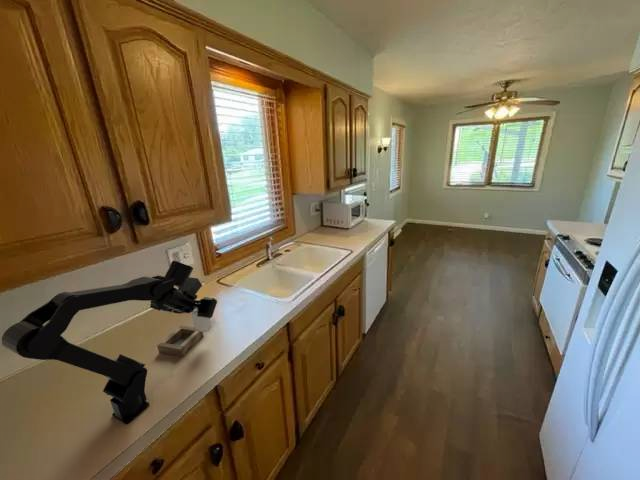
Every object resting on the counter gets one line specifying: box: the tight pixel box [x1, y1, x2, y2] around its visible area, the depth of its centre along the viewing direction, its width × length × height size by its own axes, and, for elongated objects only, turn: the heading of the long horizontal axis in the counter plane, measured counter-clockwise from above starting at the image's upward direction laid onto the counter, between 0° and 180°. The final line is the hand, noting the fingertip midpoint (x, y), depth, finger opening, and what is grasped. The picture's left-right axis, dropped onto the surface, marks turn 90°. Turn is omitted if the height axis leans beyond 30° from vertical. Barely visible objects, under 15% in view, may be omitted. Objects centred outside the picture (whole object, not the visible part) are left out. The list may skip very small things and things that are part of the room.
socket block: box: [157, 325, 204, 359], centre depth 100 cm, size 12×10×4 cm
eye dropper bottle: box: [191, 298, 212, 333], centre depth 97 cm, size 4×6×12 cm
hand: (203, 311), depth 98 cm, fingers closed on eye dropper bottle, 5 cm apart
